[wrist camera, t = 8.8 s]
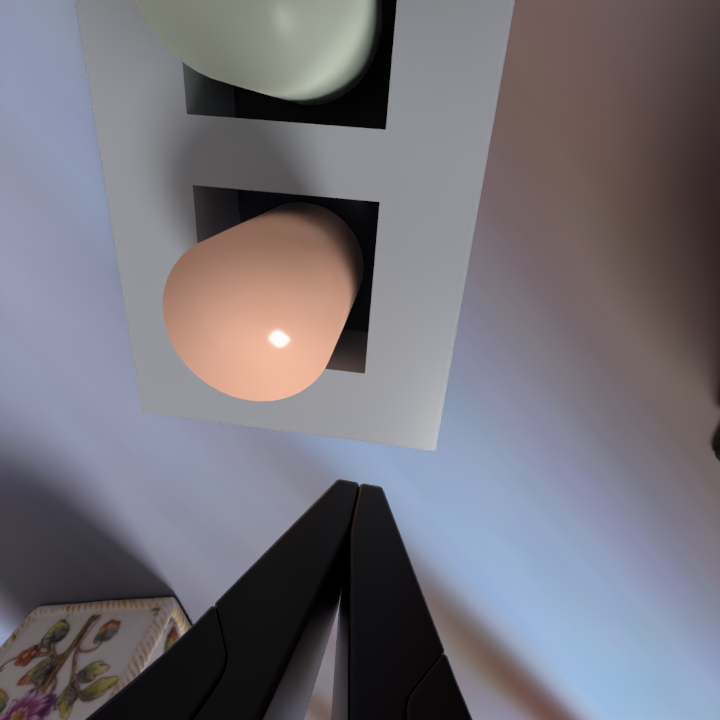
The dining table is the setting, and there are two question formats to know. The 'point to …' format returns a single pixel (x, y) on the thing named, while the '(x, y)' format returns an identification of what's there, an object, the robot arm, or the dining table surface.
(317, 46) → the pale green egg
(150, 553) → the dining table surface
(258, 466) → the dining table surface
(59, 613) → the decorative jar
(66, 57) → the dining table surface
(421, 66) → the grey holder tray
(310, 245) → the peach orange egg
